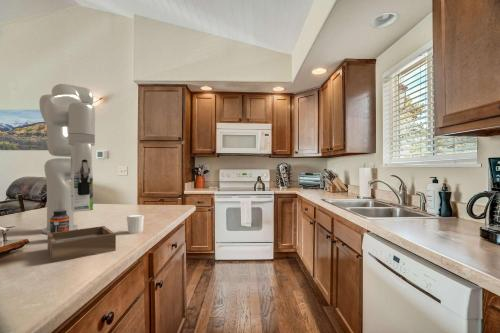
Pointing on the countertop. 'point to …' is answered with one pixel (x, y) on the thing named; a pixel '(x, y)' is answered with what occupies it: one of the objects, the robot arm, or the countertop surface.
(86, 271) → the countertop surface
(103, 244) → the crate
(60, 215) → the supplement bottle
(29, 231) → the countertop surface
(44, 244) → the countertop surface
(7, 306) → the countertop surface
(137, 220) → the white cup
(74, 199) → the syrup box
